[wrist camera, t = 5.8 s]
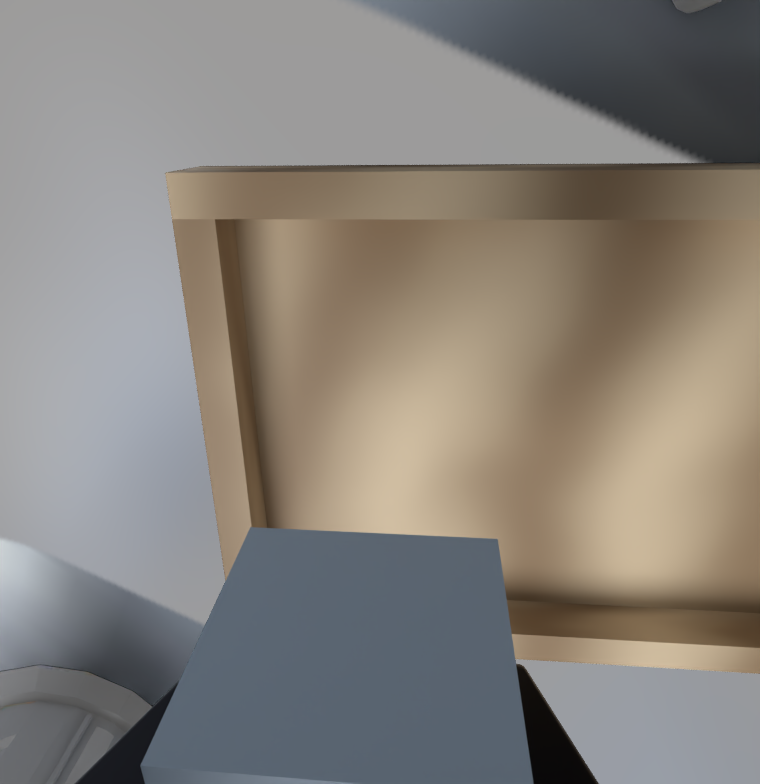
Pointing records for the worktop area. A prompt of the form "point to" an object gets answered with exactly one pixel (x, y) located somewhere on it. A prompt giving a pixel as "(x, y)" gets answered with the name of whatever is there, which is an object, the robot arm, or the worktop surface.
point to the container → (693, 5)
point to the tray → (497, 381)
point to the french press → (60, 723)
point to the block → (350, 668)
